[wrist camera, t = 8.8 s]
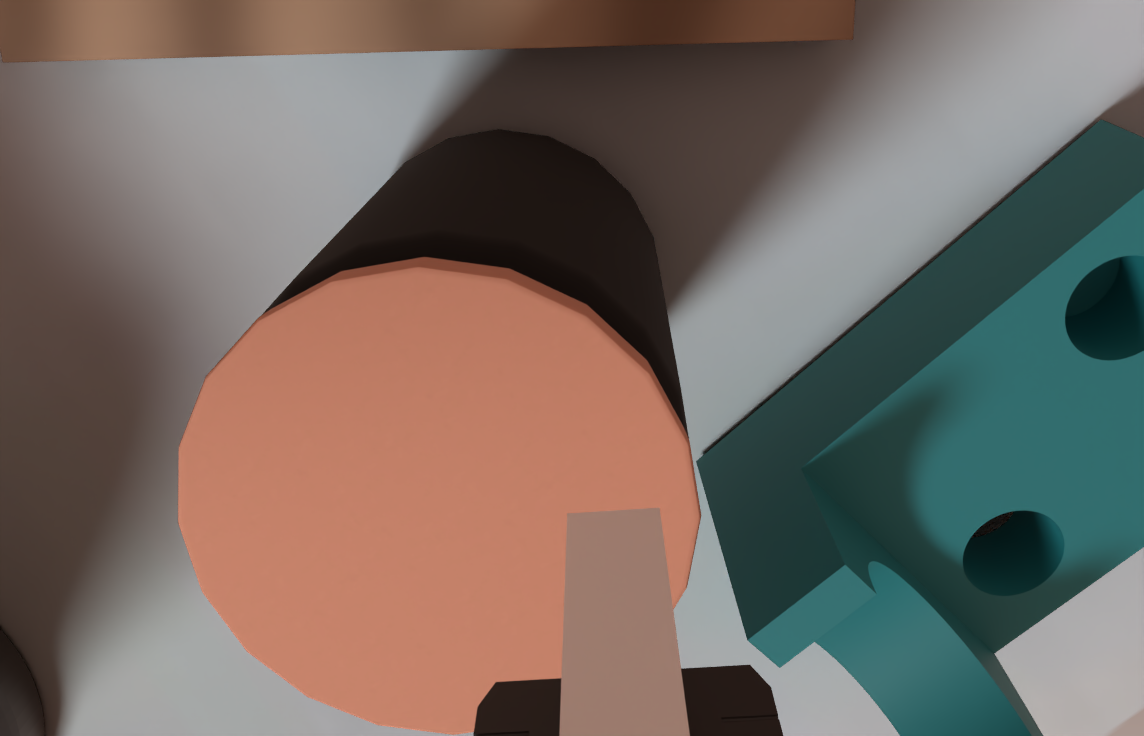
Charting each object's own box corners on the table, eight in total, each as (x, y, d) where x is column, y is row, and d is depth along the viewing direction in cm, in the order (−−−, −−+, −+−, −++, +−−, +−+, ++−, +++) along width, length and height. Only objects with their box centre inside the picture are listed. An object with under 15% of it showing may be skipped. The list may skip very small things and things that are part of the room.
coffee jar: (372, 416, 41) (211, 738, 24) (345, 126, 37) (131, 269, 20) (658, 412, 41) (697, 737, 24) (659, 120, 37) (708, 259, 20)
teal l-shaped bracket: (873, 624, 44) (968, 829, 35) (696, 461, 41) (747, 640, 31) (1264, 331, 39) (1498, 477, 30) (1101, 119, 36) (1306, 207, 27)
